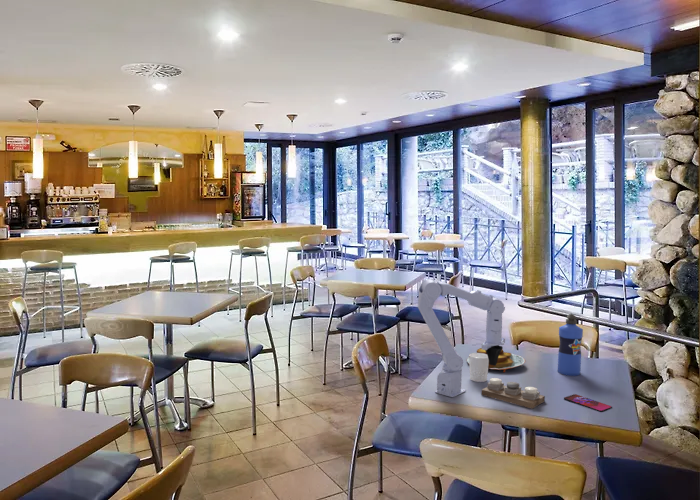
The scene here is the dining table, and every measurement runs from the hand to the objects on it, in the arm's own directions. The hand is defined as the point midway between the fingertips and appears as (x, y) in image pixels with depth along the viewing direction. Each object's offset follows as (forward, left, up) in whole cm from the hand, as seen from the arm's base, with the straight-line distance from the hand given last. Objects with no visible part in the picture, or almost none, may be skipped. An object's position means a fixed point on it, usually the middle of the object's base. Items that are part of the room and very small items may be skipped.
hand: (492, 364), depth 212 cm
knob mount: (-1, -9, -10) cm, 14 cm away
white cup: (+9, +11, -11) cm, 18 cm away
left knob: (-1, -2, -8) cm, 9 cm away
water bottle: (+44, -12, -11) cm, 47 cm away
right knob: (-1, -16, -8) cm, 18 cm away
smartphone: (+13, -31, -11) cm, 35 cm away
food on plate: (+33, +16, -11) cm, 38 cm away
